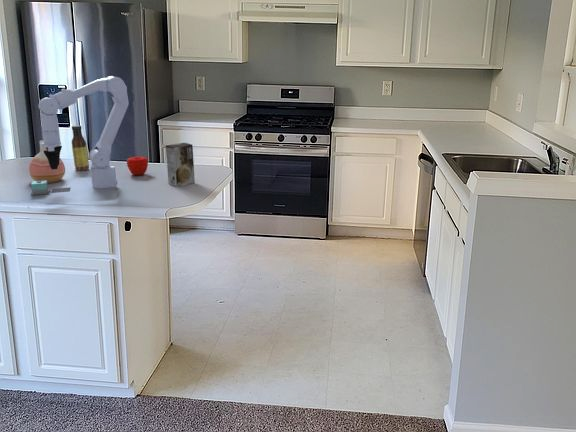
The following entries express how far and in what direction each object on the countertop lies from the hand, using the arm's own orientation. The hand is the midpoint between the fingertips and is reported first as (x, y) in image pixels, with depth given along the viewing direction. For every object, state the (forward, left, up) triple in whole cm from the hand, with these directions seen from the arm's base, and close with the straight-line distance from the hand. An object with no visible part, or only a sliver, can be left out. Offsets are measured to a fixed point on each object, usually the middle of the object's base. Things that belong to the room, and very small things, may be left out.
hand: (55, 167), depth 212 cm
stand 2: (-1, -1, -10) cm, 10 cm away
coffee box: (-47, -3, -11) cm, 48 cm away
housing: (+6, +2, -9) cm, 11 cm away
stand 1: (+6, +2, -10) cm, 12 cm away
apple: (-31, -25, -11) cm, 41 cm away
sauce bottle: (-7, -44, -11) cm, 46 cm away
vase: (+5, -19, -11) cm, 22 cm away
